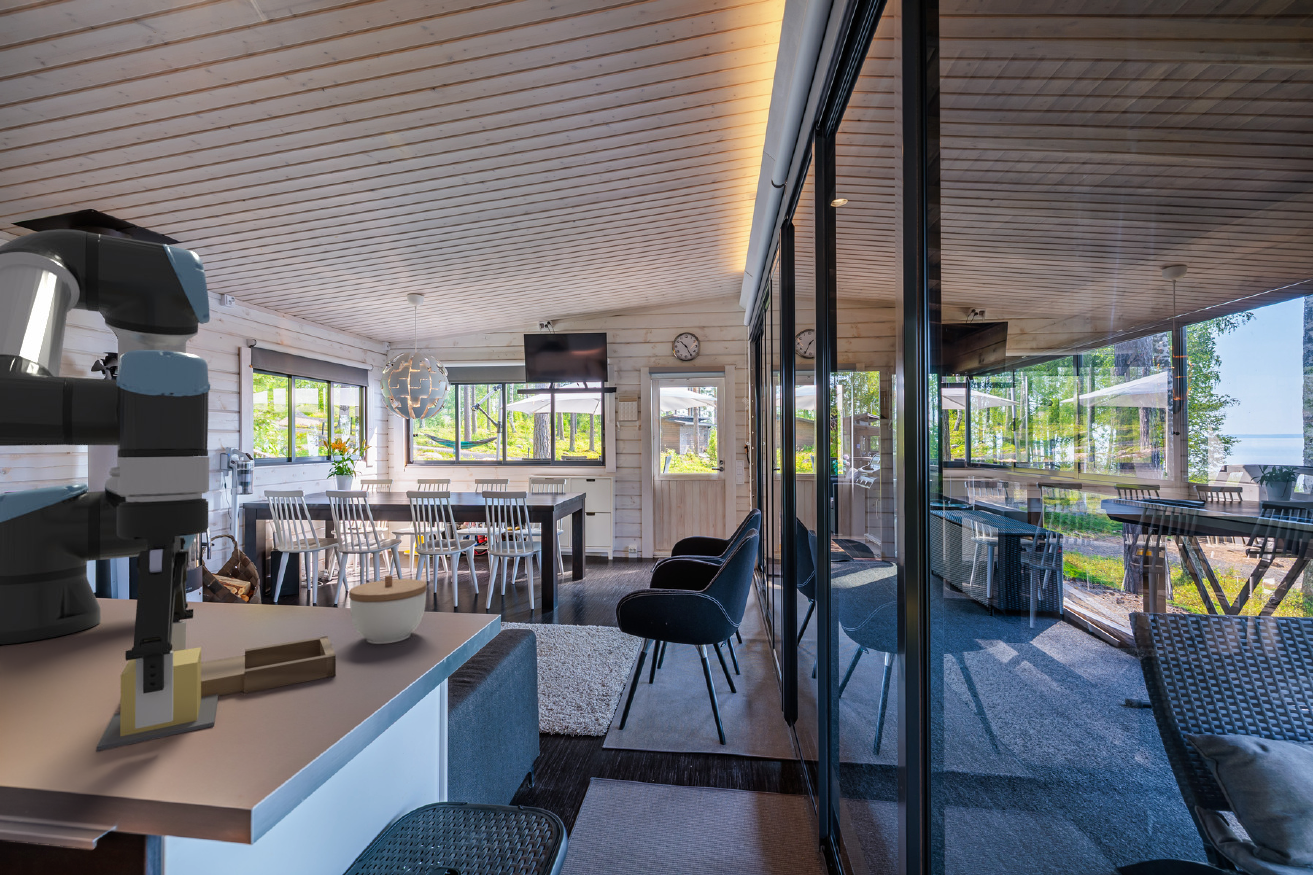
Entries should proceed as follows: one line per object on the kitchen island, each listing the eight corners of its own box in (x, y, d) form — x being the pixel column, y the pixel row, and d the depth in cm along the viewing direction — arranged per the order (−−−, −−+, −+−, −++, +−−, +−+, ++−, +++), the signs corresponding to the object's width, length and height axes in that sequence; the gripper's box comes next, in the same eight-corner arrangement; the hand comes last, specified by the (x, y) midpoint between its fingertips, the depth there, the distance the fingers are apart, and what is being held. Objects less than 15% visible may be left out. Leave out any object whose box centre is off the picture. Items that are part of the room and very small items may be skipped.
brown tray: (134, 687, 73) (134, 666, 73) (327, 653, 84) (327, 635, 84) (119, 717, 64) (119, 693, 64) (335, 675, 76) (335, 655, 76)
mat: (114, 717, 65) (114, 713, 65) (218, 697, 70) (218, 693, 70) (96, 751, 57) (96, 746, 57) (214, 725, 62) (214, 721, 62)
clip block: (130, 714, 64) (130, 657, 64) (201, 701, 68) (201, 647, 68) (120, 736, 59) (120, 674, 59) (197, 720, 63) (197, 662, 63)
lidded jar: (441, 631, 94) (441, 571, 94) (385, 653, 84) (385, 585, 85) (391, 624, 98) (391, 566, 99) (332, 644, 89) (332, 580, 89)
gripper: (136, 495, 72) (135, 673, 71) (90, 506, 51) (87, 758, 51) (214, 492, 76) (213, 660, 76) (200, 501, 55) (199, 734, 55)
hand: (163, 701), depth 63 cm, fingers open, 13 cm apart
